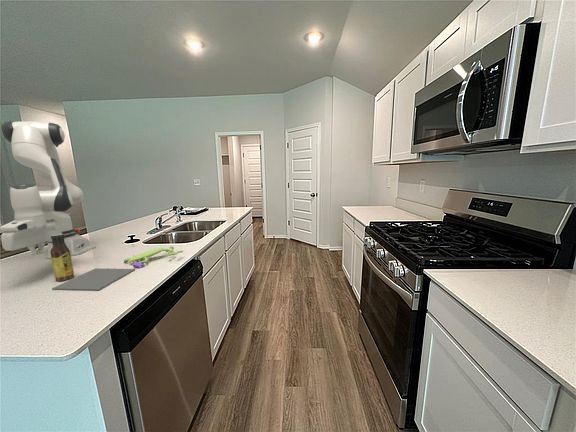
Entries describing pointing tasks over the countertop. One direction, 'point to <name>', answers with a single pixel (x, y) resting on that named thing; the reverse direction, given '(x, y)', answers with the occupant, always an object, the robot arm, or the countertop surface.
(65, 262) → the sauce bottle
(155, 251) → the figurine
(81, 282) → the rubber mat
